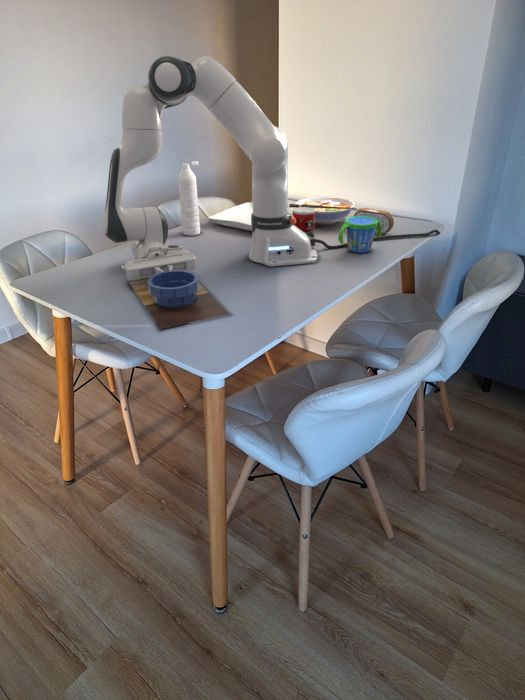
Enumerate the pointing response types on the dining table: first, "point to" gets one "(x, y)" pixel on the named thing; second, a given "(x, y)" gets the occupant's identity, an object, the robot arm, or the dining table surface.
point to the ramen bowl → (327, 208)
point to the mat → (186, 312)
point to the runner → (145, 295)
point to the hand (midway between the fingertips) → (168, 275)
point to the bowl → (173, 288)
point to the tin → (378, 218)
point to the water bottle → (189, 200)
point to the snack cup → (360, 233)
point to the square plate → (236, 216)
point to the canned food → (305, 219)
